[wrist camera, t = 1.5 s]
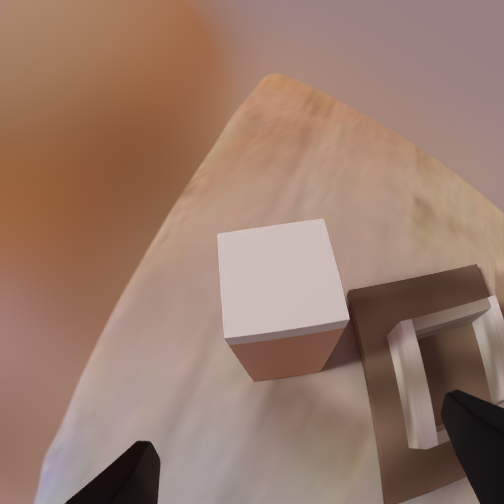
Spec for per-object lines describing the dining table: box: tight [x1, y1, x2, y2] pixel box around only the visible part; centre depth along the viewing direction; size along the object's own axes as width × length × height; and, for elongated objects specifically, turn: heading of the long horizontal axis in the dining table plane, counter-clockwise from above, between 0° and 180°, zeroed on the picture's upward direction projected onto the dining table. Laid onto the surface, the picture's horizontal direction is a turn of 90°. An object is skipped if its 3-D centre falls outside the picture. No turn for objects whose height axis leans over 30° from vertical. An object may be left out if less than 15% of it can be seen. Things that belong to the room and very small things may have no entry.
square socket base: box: [347, 264, 504, 504], centre depth 17 cm, size 16×12×4 cm
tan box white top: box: [217, 219, 350, 382], centre depth 17 cm, size 5×5×11 cm
